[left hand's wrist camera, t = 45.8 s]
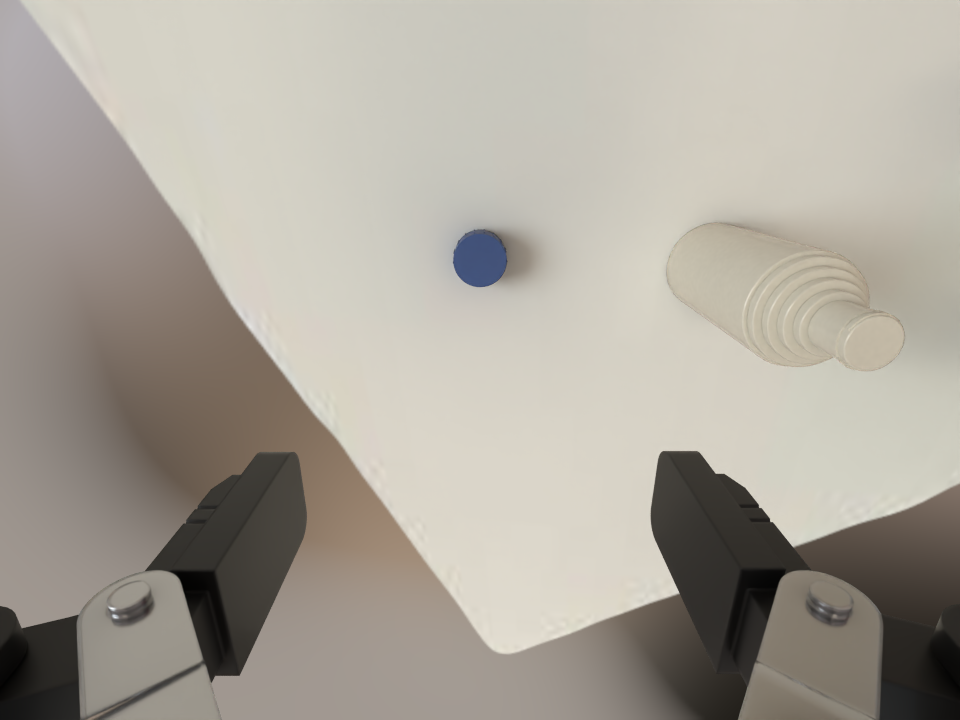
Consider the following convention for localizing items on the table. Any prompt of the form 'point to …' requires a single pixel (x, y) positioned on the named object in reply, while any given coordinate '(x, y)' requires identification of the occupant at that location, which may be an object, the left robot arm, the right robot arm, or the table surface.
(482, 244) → the cap
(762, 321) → the bottle
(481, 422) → the table surface
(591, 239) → the table surface
